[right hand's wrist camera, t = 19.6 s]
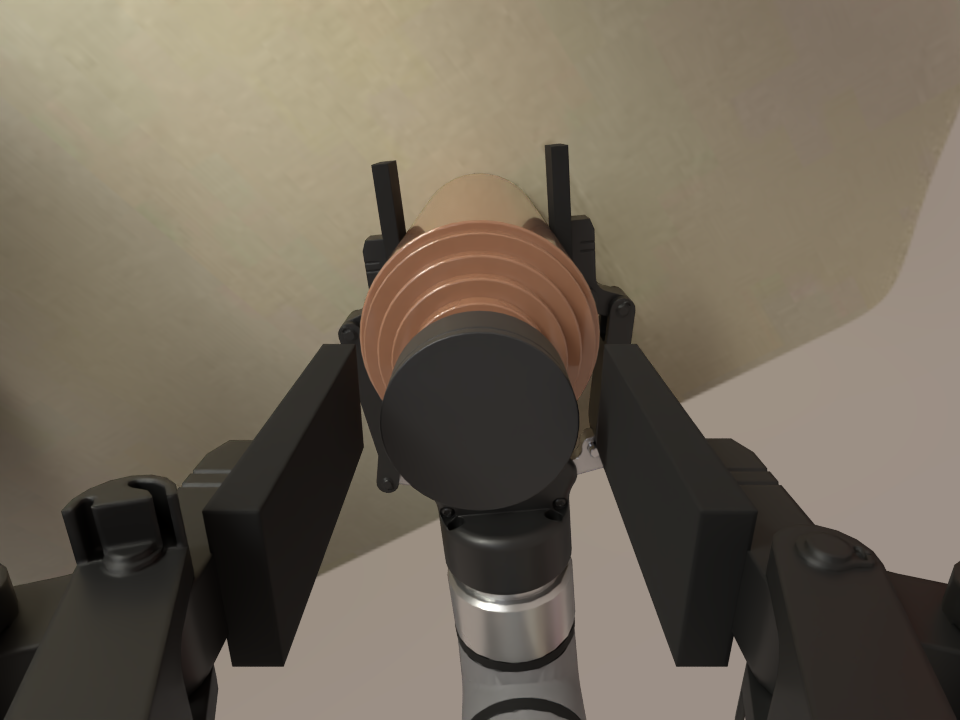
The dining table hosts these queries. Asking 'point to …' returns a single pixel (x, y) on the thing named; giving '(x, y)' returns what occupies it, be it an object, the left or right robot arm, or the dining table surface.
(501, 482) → the cap
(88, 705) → the right robot arm
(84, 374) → the dining table surface
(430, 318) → the bottle
